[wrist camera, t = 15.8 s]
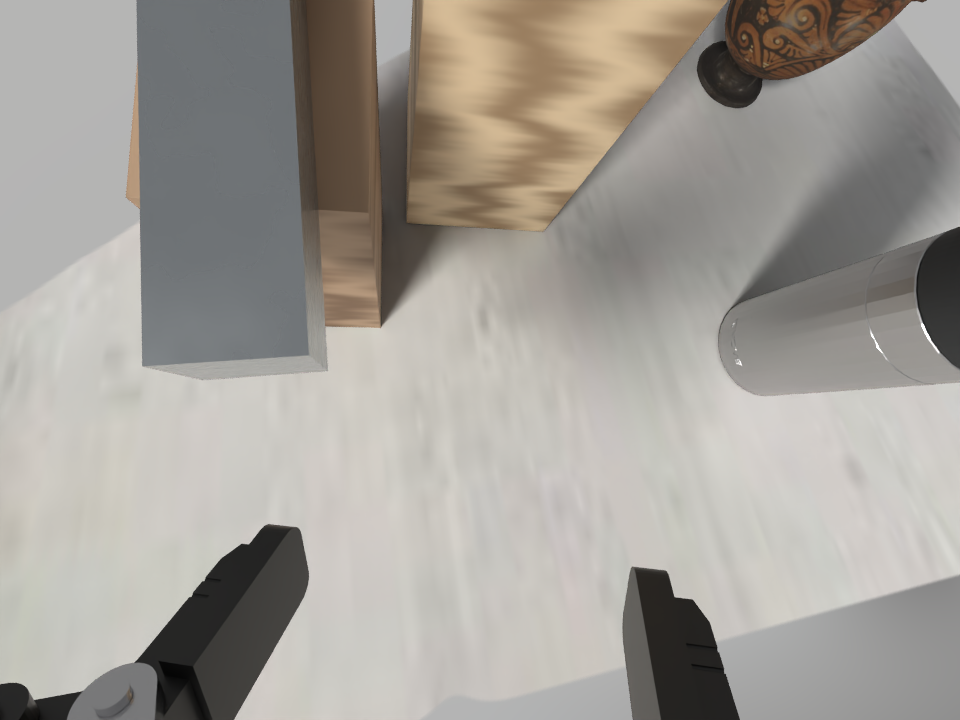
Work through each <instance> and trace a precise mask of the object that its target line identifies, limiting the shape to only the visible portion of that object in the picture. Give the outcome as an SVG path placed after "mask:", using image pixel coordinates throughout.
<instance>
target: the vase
mask: <svg viewBox="0 0 960 720" xmlns="http://www.w3.org/2000/svg"><path fill="white" fill-rule="evenodd" d="M911 1H919V2H924V1H926V0H731V1H730V4H729V8H728V11H727V15H726V22H725V38H726V41H721V42H717V43H714V44H712V45H711V46H709V47H708V48H706V49H705V50H704V51H703V52H702V54H701V56H700V58H699V61H698V66H697V72H698V76H699V79H700V82H701V84H702V86H703V88H704V89H705V90H706V92H707V93H708V94H709V95H710V96H711V97H712V98H713V99H714V100H716V101H718V102H719V103H721V104H723V105H725V106H729V107H733V108H743V107H747V106H748V105H750V104H751V103H753V102H754V101H755V100H756V98H757V96H758V95H759V93H760V90H761V87H762V79H769V80H782V79H790V78H794V77H798V76H801V75H804V74H806V73H809V72H811V71H814V70H816V69H818V68H820V67H822V66H824V65H826V64H828V63H830V62H832V61H834V60H835V59H837V58H839V57H841V56H843V55H844V54H846V53H848V52H849V51H851V50H853V49H854V48H856V47H857V46H859V45H860V44H862V43H863V42H864V41H866V40H867V39H869V38H870V37H871V36H873V35H874V34H876V33H877V32H878V31H879V30H881V29H882V28H883V27H884V26H885V25H887V24H888V23H889V22H890V21H891V20H892V19H893V18H895V16H897V15H898V14H899V13H900V12H901V11H902V10H903V9H904V8H905V7H906V6H907V5H908V4H909V3H910V2H911Z"/></svg>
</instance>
